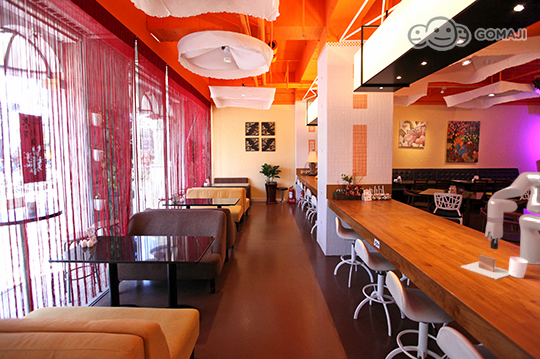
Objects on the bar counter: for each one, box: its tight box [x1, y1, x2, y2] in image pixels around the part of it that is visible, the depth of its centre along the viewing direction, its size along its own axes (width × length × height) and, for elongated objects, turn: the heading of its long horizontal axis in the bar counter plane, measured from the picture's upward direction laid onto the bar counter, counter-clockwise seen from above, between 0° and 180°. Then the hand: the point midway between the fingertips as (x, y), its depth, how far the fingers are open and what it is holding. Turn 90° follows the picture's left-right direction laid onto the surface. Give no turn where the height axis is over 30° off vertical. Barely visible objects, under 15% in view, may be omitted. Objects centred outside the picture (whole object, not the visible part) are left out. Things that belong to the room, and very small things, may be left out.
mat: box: [460, 261, 511, 281], centre depth 167 cm, size 18×20×1 cm
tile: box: [478, 254, 496, 272], centre depth 166 cm, size 2×8×8 cm, turn 22°
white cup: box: [508, 256, 529, 279], centre depth 157 cm, size 8×8×10 cm
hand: (494, 248), depth 168 cm, fingers closed
